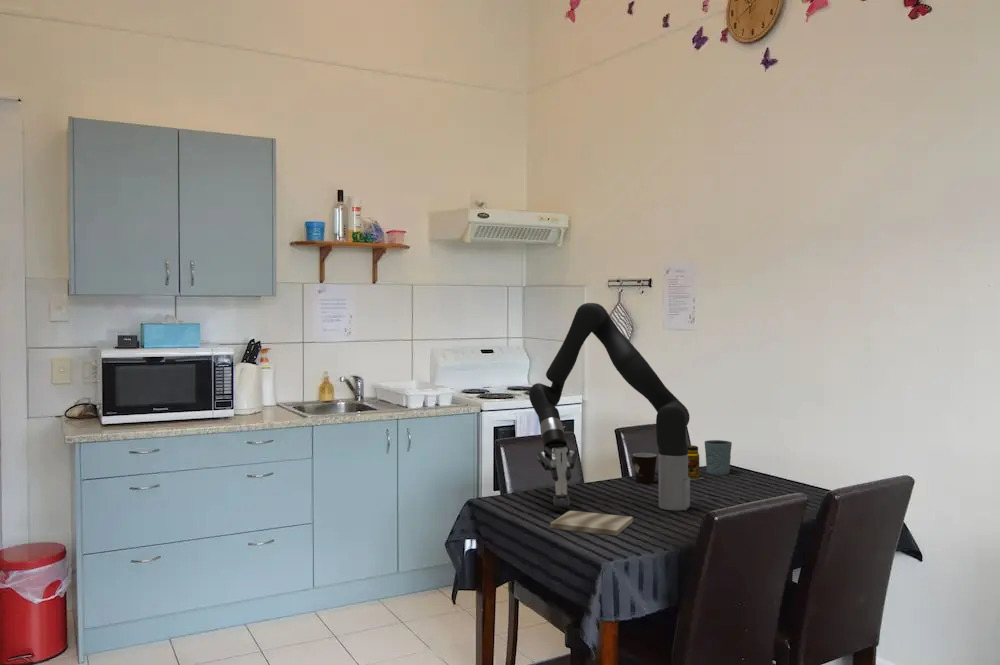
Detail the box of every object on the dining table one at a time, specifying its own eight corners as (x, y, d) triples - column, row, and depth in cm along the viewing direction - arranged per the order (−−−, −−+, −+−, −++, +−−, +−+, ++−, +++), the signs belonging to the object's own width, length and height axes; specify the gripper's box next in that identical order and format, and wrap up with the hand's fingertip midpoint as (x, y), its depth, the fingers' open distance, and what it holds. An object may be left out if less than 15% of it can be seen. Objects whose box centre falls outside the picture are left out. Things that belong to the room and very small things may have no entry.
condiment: (688, 480, 294) (688, 448, 294) (675, 476, 302) (675, 444, 302) (705, 478, 297) (704, 446, 297) (691, 474, 305) (691, 443, 305)
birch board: (632, 521, 238) (632, 516, 237) (616, 535, 223) (616, 530, 223) (569, 515, 246) (569, 510, 246) (550, 528, 232) (550, 523, 232)
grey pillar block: (567, 502, 253) (566, 446, 253) (571, 506, 248) (570, 448, 248) (551, 503, 253) (550, 447, 252) (555, 507, 248) (554, 449, 247)
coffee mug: (659, 484, 288) (658, 457, 288) (635, 484, 288) (634, 457, 288) (653, 477, 300) (653, 451, 300) (630, 478, 300) (630, 451, 300)
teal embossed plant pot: (705, 475, 304) (705, 443, 304) (703, 469, 314) (703, 439, 314) (733, 475, 302) (733, 444, 302) (730, 470, 312) (730, 439, 312)
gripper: (533, 428, 256) (542, 474, 244) (575, 426, 258) (586, 471, 247) (530, 442, 262) (538, 487, 250) (572, 440, 264) (582, 485, 252)
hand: (562, 479), depth 248 cm, fingers closed on grey pillar block, 3 cm apart
